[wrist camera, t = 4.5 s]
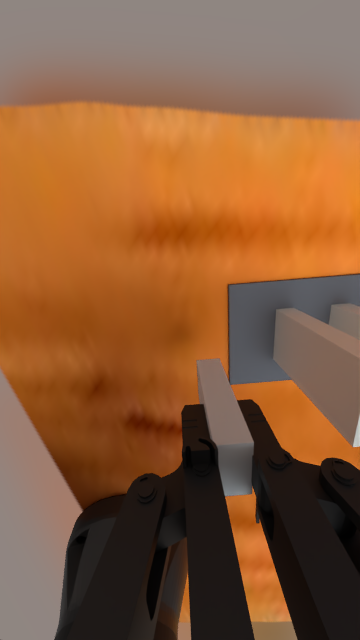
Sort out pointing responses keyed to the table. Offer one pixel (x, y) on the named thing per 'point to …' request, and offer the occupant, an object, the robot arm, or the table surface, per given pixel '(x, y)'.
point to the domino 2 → (346, 319)
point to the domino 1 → (321, 367)
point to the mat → (260, 315)
